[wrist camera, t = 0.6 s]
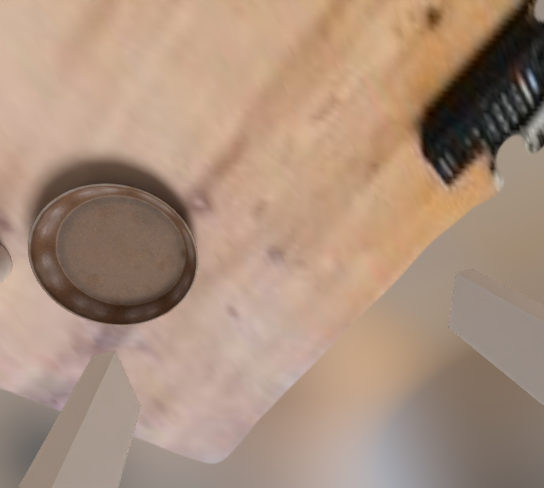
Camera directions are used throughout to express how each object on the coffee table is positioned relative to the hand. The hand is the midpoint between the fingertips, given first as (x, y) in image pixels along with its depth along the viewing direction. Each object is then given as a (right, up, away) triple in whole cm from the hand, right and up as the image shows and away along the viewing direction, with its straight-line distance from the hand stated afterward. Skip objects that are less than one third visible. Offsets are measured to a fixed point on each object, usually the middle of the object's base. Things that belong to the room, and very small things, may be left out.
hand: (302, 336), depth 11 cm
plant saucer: (-19, +3, +24) cm, 31 cm away
